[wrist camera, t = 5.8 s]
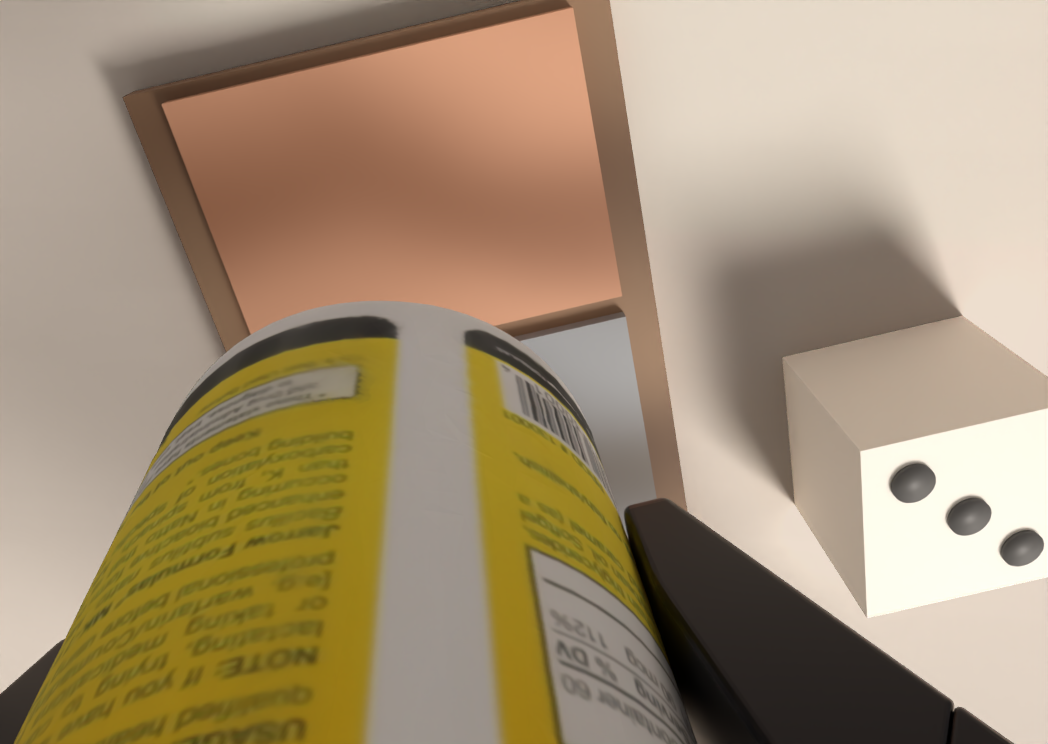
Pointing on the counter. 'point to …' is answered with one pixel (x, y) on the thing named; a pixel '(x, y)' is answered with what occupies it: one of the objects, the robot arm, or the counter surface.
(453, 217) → the game board
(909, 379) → the die
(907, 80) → the counter surface
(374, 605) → the supplement bottle
